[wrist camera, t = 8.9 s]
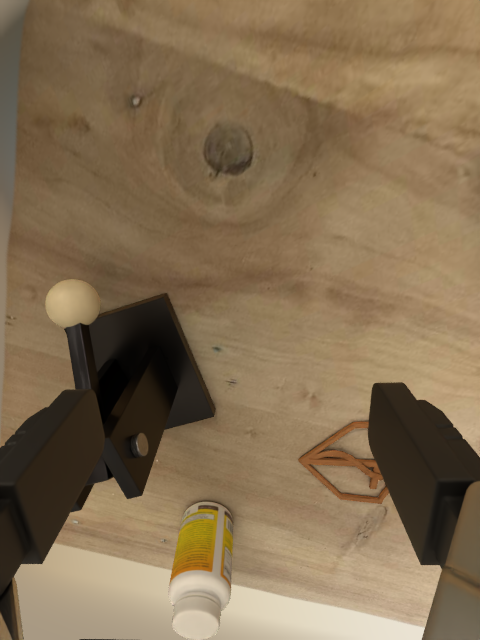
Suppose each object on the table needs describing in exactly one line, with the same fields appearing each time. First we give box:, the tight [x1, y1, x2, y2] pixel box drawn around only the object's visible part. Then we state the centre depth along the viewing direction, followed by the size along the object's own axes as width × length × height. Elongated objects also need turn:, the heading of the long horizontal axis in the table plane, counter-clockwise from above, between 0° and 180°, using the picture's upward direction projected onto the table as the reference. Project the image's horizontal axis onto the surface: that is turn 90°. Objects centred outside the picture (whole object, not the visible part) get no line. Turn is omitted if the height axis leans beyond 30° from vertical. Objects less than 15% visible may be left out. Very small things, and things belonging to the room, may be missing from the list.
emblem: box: [298, 422, 389, 504], centre depth 36 cm, size 12×10×1 cm
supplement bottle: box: [168, 502, 233, 640], centre depth 35 cm, size 6×6×10 cm
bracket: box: [64, 293, 215, 512], centre depth 27 cm, size 12×9×13 cm
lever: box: [45, 279, 114, 486], centre depth 24 cm, size 13×3×3 cm
